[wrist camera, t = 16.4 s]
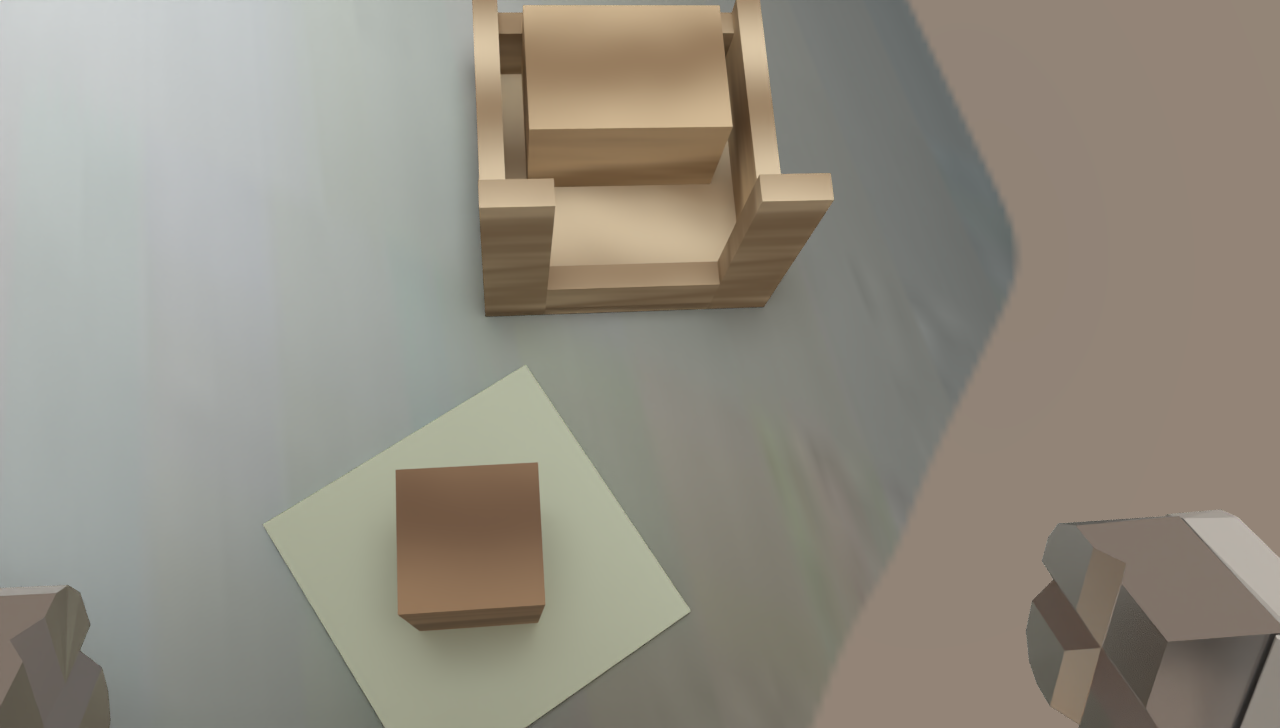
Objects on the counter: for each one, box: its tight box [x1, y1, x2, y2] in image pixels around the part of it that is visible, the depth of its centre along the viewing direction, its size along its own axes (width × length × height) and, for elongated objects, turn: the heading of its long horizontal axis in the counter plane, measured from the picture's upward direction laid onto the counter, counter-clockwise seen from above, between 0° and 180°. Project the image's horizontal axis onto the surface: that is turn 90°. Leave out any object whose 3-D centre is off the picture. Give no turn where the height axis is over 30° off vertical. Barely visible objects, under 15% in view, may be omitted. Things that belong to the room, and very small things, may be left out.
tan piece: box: [472, 0, 834, 316], centre depth 44 cm, size 12×12×11 cm
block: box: [395, 462, 545, 631], centre depth 39 cm, size 4×4×9 cm
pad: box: [263, 365, 690, 728], centre depth 44 cm, size 12×12×1 cm
